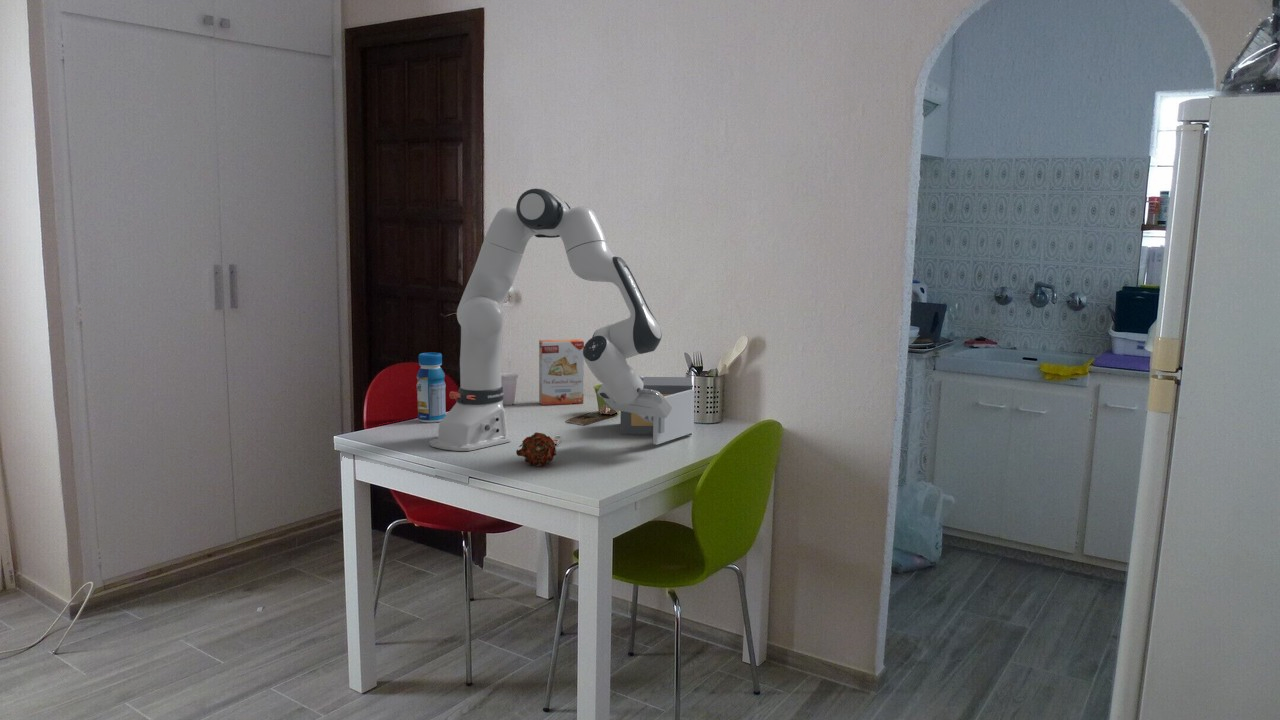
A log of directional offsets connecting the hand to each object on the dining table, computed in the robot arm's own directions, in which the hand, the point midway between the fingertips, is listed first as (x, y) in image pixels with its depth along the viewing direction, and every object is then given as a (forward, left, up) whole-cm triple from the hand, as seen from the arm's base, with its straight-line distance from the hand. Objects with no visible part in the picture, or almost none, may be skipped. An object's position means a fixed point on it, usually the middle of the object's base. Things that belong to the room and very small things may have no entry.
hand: (651, 420), depth 245 cm
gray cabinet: (+18, +9, -7) cm, 21 cm away
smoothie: (+25, +68, -7) cm, 72 cm away
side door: (+7, -4, -6) cm, 10 cm away
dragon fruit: (-31, +15, -7) cm, 35 cm away
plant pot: (+29, +32, -7) cm, 43 cm away
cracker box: (+35, +54, -7) cm, 64 cm away
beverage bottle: (-7, +71, -7) cm, 72 cm away
